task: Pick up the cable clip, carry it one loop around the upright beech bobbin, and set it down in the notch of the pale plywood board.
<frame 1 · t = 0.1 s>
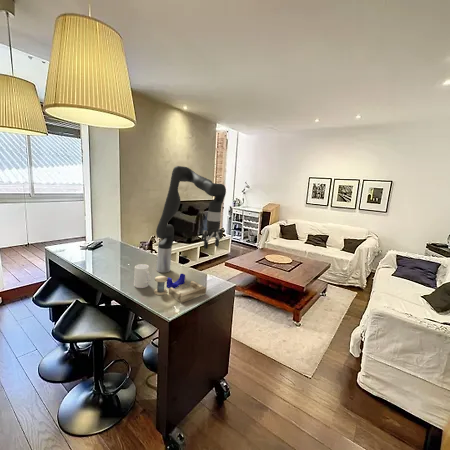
hand: (211, 247, 143), 29 cm above the table, fingers open, 8 cm apart
notched board: (187, 294, 146), on the table
mug: (142, 286, 151), on the table
bobbin: (160, 292, 145), on the table
cable clip: (176, 286, 156), on the table
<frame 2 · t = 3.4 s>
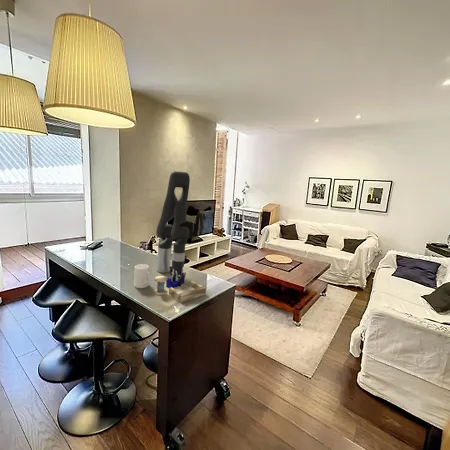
hand: (176, 284, 156), 0 cm above the table, fingers closed on cable clip, 4 cm apart
cable clip: (176, 285, 156), on the table, touching gripper
everything else where it was.
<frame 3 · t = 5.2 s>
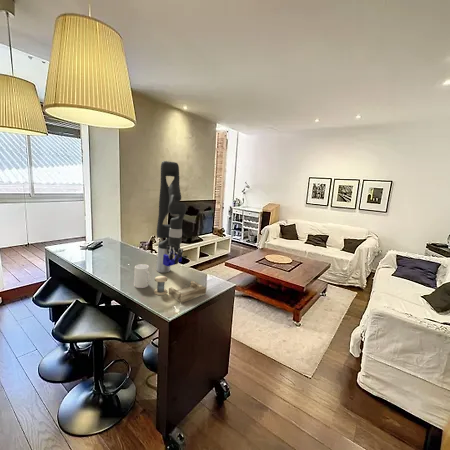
hand: (173, 262, 153), 15 cm above the table, fingers closed on cable clip, 4 cm apart
cable clip: (173, 263, 152), point 14 cm above the table, touching gripper
everything else where it was.
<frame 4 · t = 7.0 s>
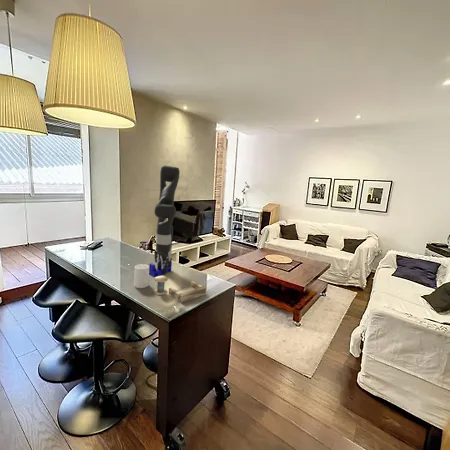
hand: (161, 272, 135), 15 cm above the table, fingers closed on cable clip, 4 cm apart
cable clip: (161, 273, 135), point 15 cm above the table, touching gripper
everything else where it was.
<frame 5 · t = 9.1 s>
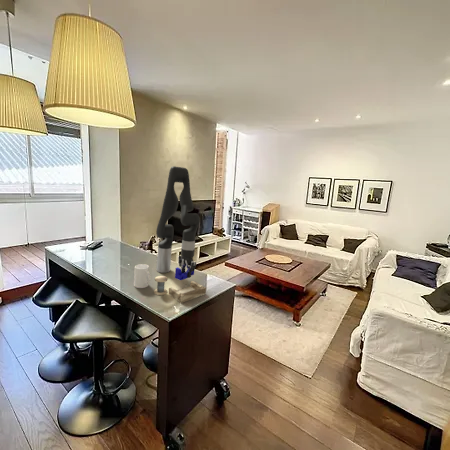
hand: (186, 275, 146), 11 cm above the table, fingers closed on cable clip, 4 cm apart
cable clip: (185, 277, 146), point 10 cm above the table, touching gripper
everything else where it was.
when the fingers open (3 cm above the table, at t = 10.7 s): cable clip drops 2 cm, resting on notched board.
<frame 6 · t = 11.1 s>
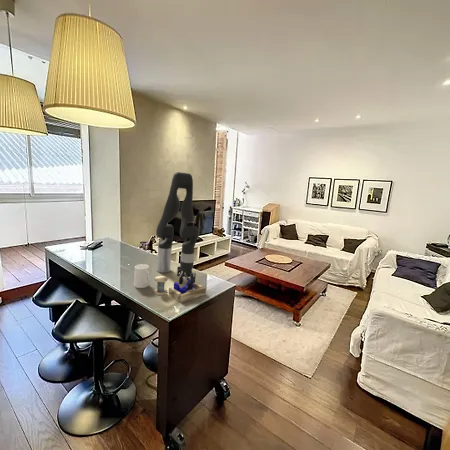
hand: (185, 286, 147), 4 cm above the table, fingers open, 7 cm apart
cable clip: (183, 291, 148), point 1 cm above the table, touching notched board
everything else where it was.
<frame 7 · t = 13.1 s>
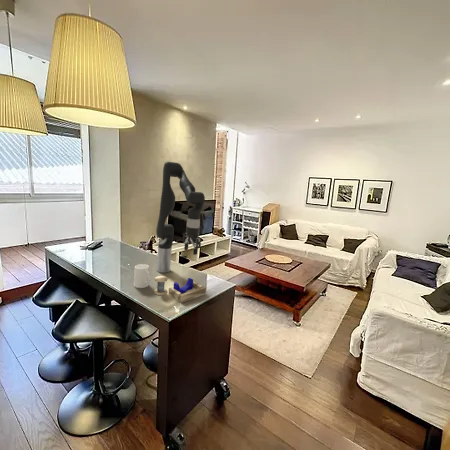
hand: (190, 252, 150), 23 cm above the table, fingers open, 8 cm apart
nothing on the table moved.
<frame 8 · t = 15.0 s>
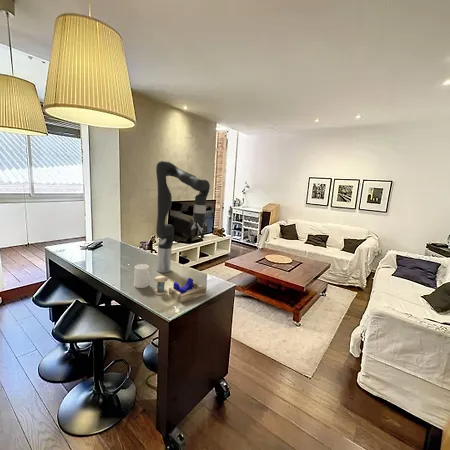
hand: (197, 237, 159), 30 cm above the table, fingers open, 8 cm apart
nothing on the table moved.
at the end: cable clip inside the target area on the notched board (1.6 cm from its centre), point 0.8 cm above the notched board's base; cable clip tilted 0°; the gripper is holding nothing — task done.
